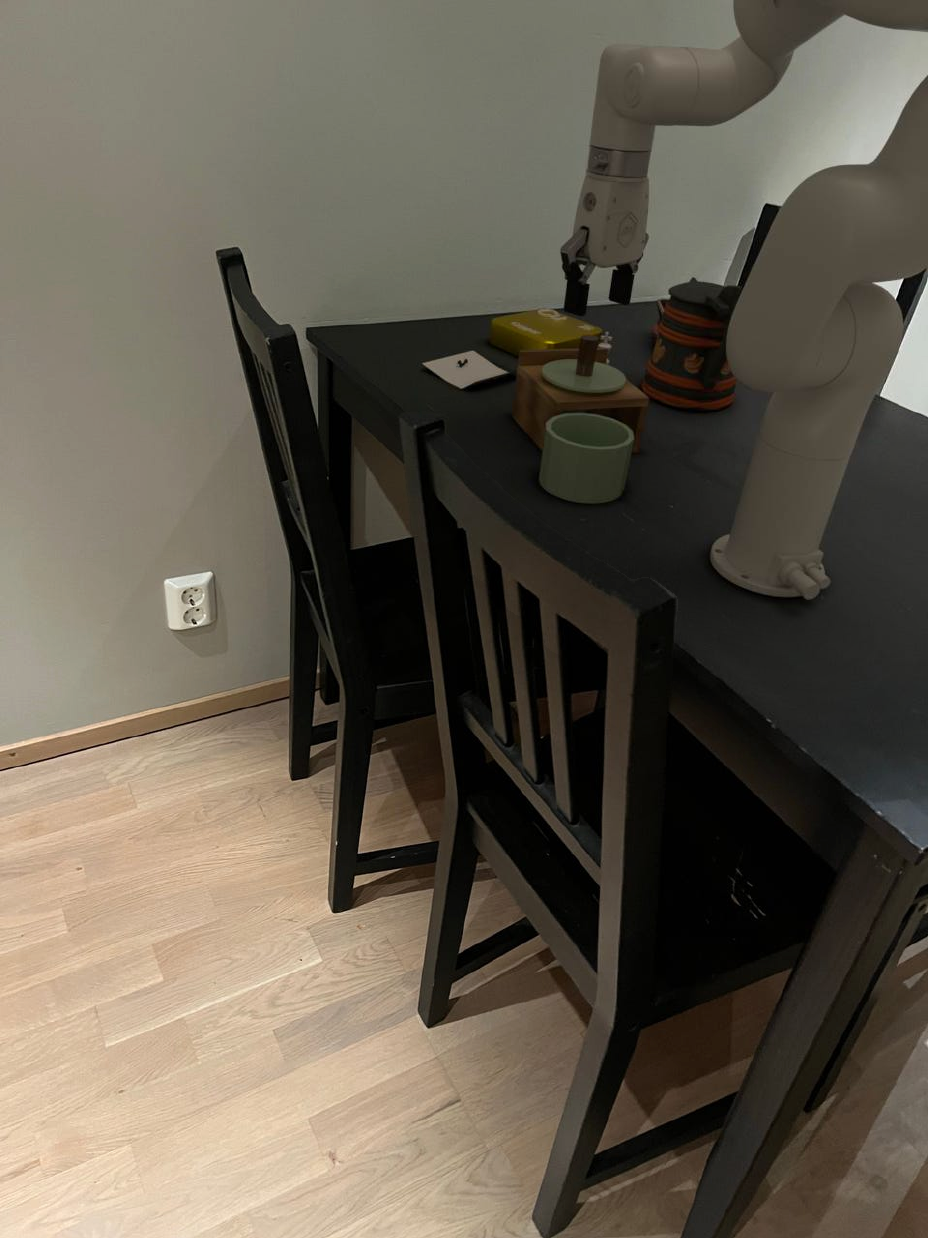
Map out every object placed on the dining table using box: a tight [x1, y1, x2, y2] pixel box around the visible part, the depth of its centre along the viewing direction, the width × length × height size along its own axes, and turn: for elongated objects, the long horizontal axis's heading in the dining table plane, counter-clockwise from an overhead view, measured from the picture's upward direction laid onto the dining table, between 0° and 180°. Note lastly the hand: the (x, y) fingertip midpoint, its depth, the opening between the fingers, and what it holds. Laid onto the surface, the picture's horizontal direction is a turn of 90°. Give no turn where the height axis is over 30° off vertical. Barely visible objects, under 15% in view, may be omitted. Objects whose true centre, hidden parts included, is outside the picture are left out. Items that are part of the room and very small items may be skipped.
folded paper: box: [421, 350, 517, 390], centre depth 148 cm, size 12×12×2 cm
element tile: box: [489, 307, 603, 358], centre depth 161 cm, size 15×15×5 cm
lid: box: [542, 335, 627, 393], centre depth 125 cm, size 12×12×6 cm
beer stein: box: [641, 276, 743, 412], centre depth 141 cm, size 19×15×20 cm
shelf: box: [511, 348, 650, 454], centre depth 129 cm, size 14×14×10 cm
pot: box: [538, 412, 634, 505], centre depth 116 cm, size 11×11×7 cm
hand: (597, 307), depth 121 cm, fingers open, 9 cm apart
